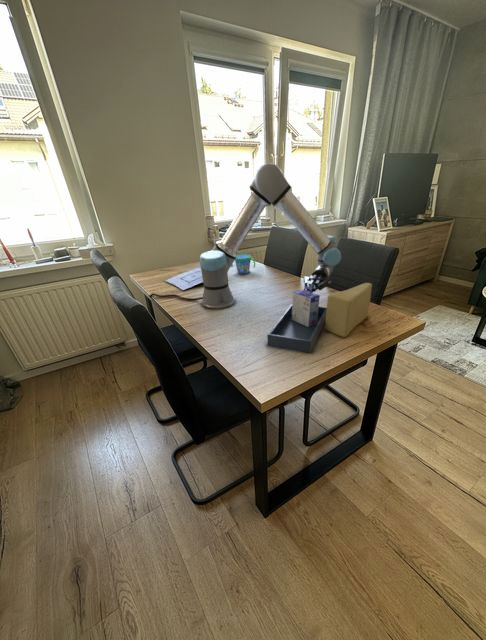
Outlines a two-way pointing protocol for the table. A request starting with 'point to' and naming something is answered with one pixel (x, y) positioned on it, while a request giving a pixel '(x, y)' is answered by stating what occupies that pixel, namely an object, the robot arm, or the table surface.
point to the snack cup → (243, 263)
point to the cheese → (347, 309)
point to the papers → (187, 279)
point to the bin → (295, 332)
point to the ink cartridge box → (305, 307)
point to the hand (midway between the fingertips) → (308, 292)
